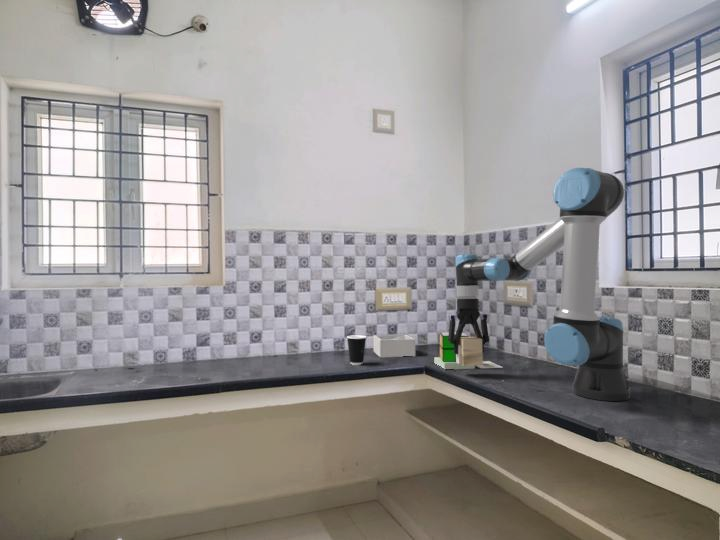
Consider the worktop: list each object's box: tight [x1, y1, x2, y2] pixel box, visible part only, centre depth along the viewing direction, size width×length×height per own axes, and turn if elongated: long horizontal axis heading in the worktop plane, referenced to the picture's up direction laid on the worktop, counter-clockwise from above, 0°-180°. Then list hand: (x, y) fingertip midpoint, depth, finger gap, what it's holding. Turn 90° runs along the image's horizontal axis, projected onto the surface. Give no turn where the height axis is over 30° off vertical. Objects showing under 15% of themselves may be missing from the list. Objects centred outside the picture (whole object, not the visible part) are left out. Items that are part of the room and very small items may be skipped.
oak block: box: [458, 336, 484, 366], centre depth 155 cm, size 7×7×9 cm
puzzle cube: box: [439, 331, 470, 362], centre depth 172 cm, size 10×10×10 cm
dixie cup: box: [346, 334, 367, 366], centre depth 176 cm, size 8×8×11 cm
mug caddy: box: [373, 334, 416, 358], centre depth 199 cm, size 16×16×8 cm
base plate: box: [433, 356, 476, 370], centre depth 172 cm, size 12×12×2 cm
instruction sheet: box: [475, 360, 504, 369], centre depth 174 cm, size 12×9×1 cm
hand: (469, 362), depth 155 cm, fingers closed on oak block, 7 cm apart
